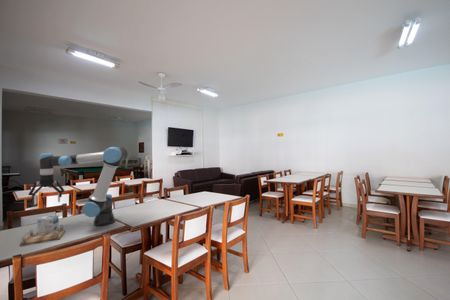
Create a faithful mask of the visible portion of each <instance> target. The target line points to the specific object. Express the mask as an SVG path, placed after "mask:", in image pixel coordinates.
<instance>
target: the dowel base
mask: <svg viewBox="0 0 450 300" xmlns="http://www.w3.org/2000/svg"><path fill="white" fill-rule="evenodd" d="M65 232H66V229H64V225H63V224H59V229H58V230H56V231H52V232H46V233H36V234H34V230H33V228H31V229H29V235H28V236H26V235H24V236H23V235H22V236H21V237H22V238H21V239H22V241H20V243H19V247H24V246H29V245H30V246H31V245H35V244H41V243H47V242H53V241H58V240H61V238H62V237H63V236H64V233H65Z"/></svg>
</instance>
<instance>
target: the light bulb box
mask: <svg viewBox="0 0 450 300" xmlns="http://www.w3.org/2000/svg"><path fill="white" fill-rule="evenodd" d="M59 217H60V216H59V214H58V215H44V216H43V215H42V216H41V217H38V218H37V219H36V226H37V228H36V229H37V234H40V233H46V232H52V231H58V230H60V222H59V221H60V220H59V219H60V218H59Z"/></svg>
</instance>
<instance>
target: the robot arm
mask: <svg viewBox="0 0 450 300" xmlns="http://www.w3.org/2000/svg"><path fill="white" fill-rule="evenodd" d="M128 153H129V152H128V150H127V149H126V148H124V147H122V146H110V147H108V148H106V149H105V150H104V151H96V152H89V153H82V154H72V155H54V154H53V153H41V154H40V155H39V175H40V176H39V181H34V183H33V185H32V188H31V189H30V191H29V193H28V196H31V200H32V201H33V205H34V206H36V205H37V203H38V202H37V201H38V199H37V198H38V197H37V194H38V192H39V191H40V190H41V189H42V188H50V187H51V188H52V189H54V191H56V192H57V203H60V202H61V198H62V194H63V193H64V192H65V189H64V187H63V186H62V184H61V183H60V179H57V180H55V179H54V167H68V166H71V165H72V166H73V165H80V164H81V165H82V164H88V163H89V164H91V163H96V162H102V163H103V167H102V170H101V173H100V175H99V178H98V180H97V183H96V185H95V188H94V190H93V193H92V194H91V195H89V196H88V199H87V202H85V203H84V204H83V205H82V209H81V210H82V212H83V214H84V215H85V216H86V217H89V218H93V226H96V227H103V226H108V225H111V224H113V223H114V222H115V221H116V217H115V216H114V213H113V195H112V194H109V193H108V191H109V188H110V186H111V184H112V181H113V177H114V176H115V173H116V170H117V169H118V168H119V167H120V166H121V164H122V162H124V161H125V160H126V159H127V158H128V155H129V154H128ZM54 183H55V184H56V185H57V186H58V187H57V186H56V185H55V184H54ZM38 185H40V186H39V187H38V188H37V186H38ZM36 188H37V189H36ZM35 189H36V190H35ZM115 223H116V222H115Z"/></svg>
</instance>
